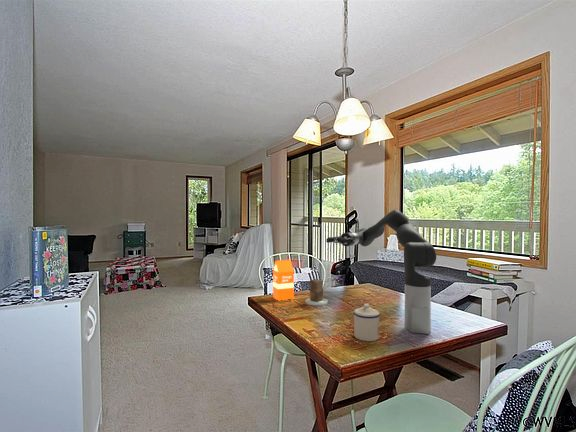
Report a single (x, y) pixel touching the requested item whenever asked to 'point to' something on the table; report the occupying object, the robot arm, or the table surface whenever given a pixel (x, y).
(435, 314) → the table surface
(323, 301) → the white plate
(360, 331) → the teacup with lid
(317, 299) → the walnut block
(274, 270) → the orange juice
